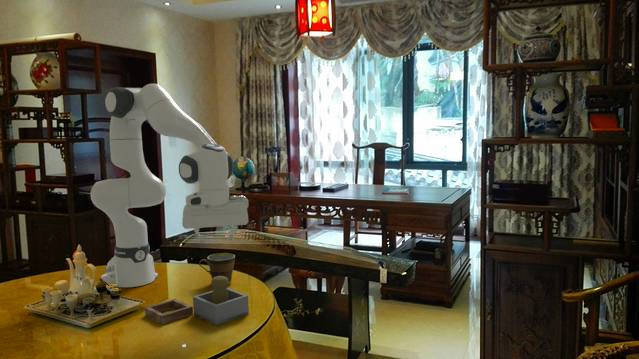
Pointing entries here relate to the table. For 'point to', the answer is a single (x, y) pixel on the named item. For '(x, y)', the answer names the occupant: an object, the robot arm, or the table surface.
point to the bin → (220, 307)
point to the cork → (219, 289)
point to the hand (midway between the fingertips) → (216, 240)
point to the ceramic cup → (220, 265)
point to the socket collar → (181, 312)
